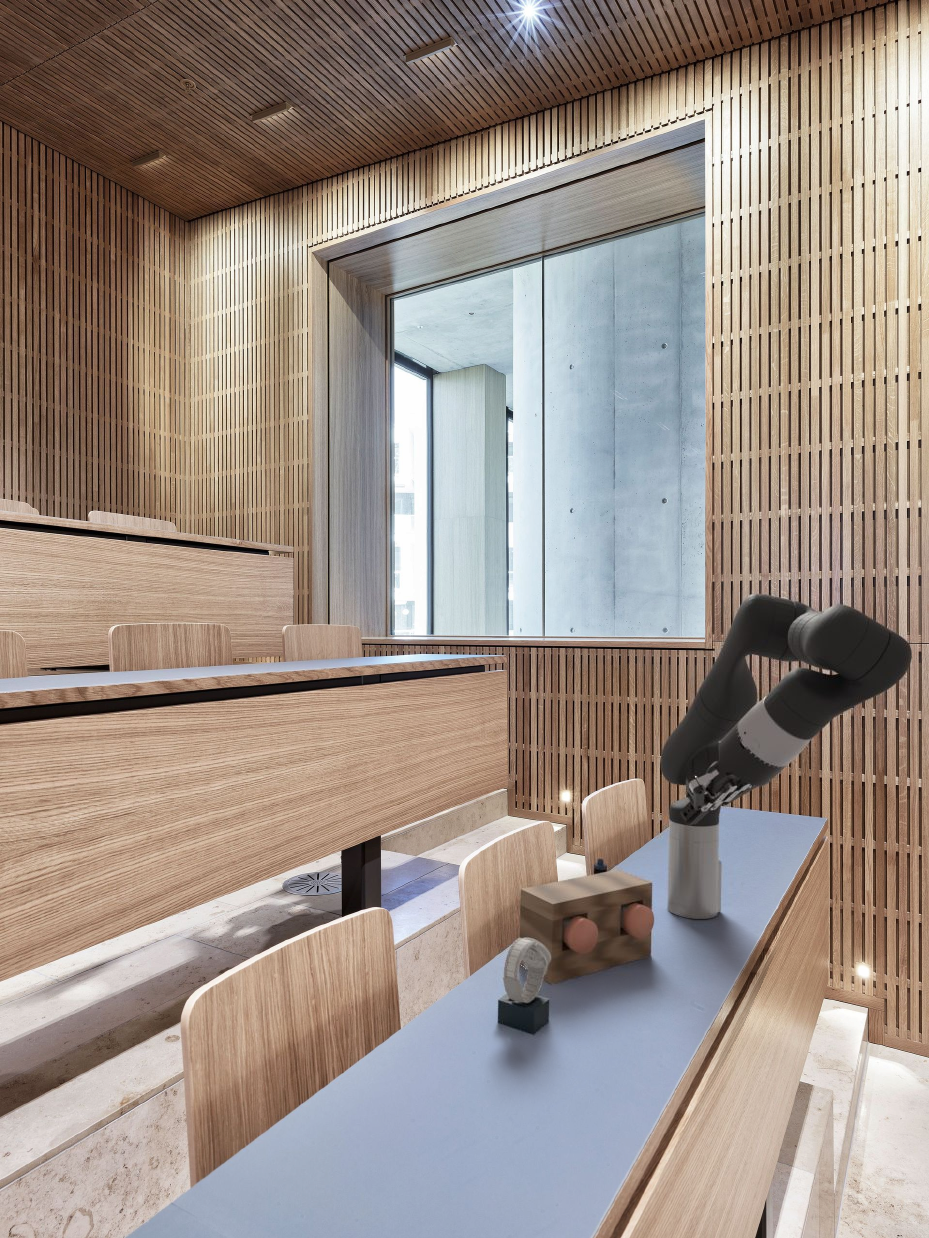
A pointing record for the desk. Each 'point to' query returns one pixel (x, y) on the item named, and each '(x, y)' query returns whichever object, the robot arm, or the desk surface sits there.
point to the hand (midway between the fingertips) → (686, 819)
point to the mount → (593, 902)
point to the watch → (525, 987)
